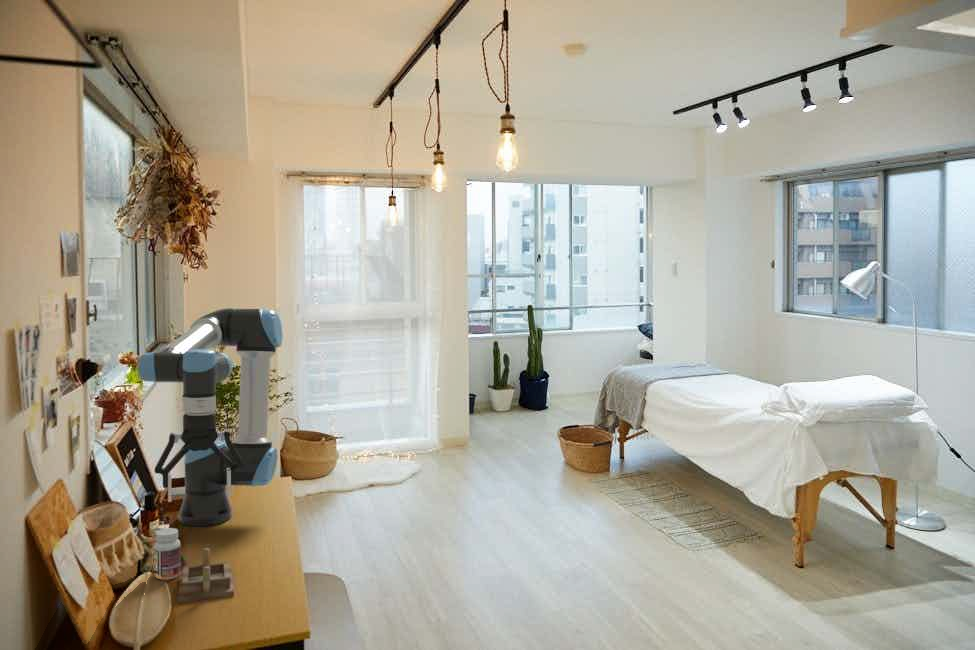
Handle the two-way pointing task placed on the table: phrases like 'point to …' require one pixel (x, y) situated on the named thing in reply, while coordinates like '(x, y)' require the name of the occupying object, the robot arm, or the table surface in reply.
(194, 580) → the holder
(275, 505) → the table surface
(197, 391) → the robot arm
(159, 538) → the pill bottle
